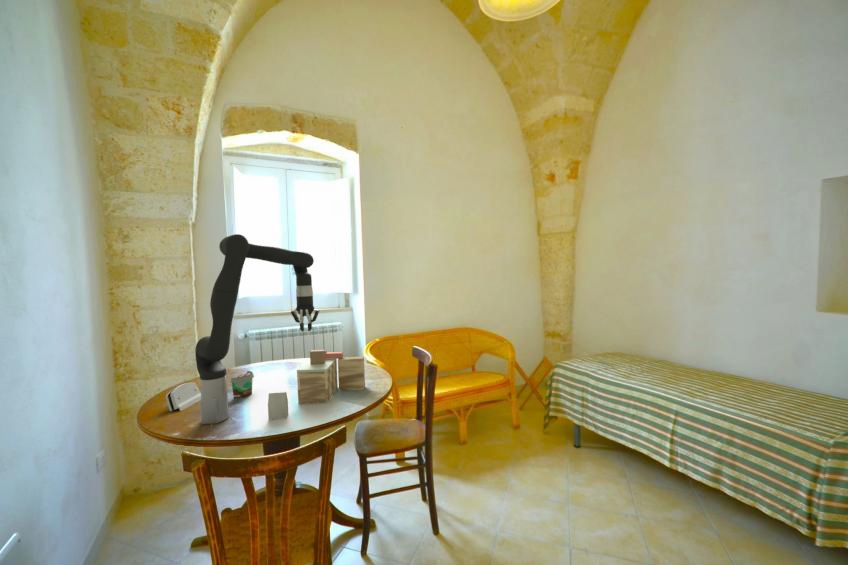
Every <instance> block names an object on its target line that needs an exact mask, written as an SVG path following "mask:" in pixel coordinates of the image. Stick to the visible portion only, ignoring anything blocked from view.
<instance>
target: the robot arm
mask: <svg viewBox="0 0 848 565" xmlns="http://www.w3.org/2000/svg"><path fill="white" fill-rule="evenodd" d="M218 248H219V250H220V252H221V254H223V256H224V262H223V266H222V268H221V269H220V270H221V271H220V272H219V274H218V276H217V278H216V280H215V282H214V284H213V287H212V291H211V297H210V302H209V304H210V305H209V306H210V314H211V316H212V317H211V318H212V328H211V331H210V335H207V336H204V337H201V338H200V339H199V340H198V341H197V343H196V345H195V350H194V352H195V353H194V354H195V361H196V363H195V364H196V368H197V369H196V370H197V373H198V374H199V381H200V382H199V383H200V386H199V387H200V392H201V400H200V401H199V402H200V415H201V416H200V417H201V419H200V420H201V424H202V425H209V424H211V425H212V424H219V423H220V422H223V421H225V420H227V419H228V418H229V417H230V416H229V415H230V414H229V401H228V394H229V393H228V380H227V378H228V376H227V369H226V366H224V365H223V363H222V360H223V359H225V357H226V356H227V355H228V352H229V350H230V342H231V331H232V330H231V329H232V323H233V318H234V313H235V309H236V305H237V300H238V295H239V289H240V283H241V279H242V272H243V268H244V265H245V261H246V259H253V260H260V261H265V262H270V263H275V264H279V265H280V264H281V265H285V266H288V265H289V266H293V271H294V275H295V278H296V279H295V282H296V283H295V284H296V288H295V294H296V296H295V297H296V307H295V309H294V310H291V311H290V314H291V316H292V318H293V319H294V321H295V323H298V324H299V329H300V331H301V332H304V331H305V322H304V319H305V317H306V319H307V331H308V332H310V331H311V330H313V326H312V325H313V324H312V323H315V321H316V320H317V319H318V316H319V313H320V309H316V308H315V306H314V290H313V285H312V281H313V280H312V274H310V273H309V272H308V268H311V266H312V265H313V264H314V257H313V255H312V254H310V253H308V252H304V251H296V250H295V251H294V250H291V249H286V248H281V247H276V246H268V245H261V244H260V245H259V244H252V243H249V240H248V239H247V237H246V236H244V235H243V234H239V233H238V234H237V233H236V234H235V233H234V234H231V235H228V236H226V237H224V238H222V239H221V240H220V242H219V247H218ZM312 313H313V317H312ZM297 314H299V316H298V315H297Z"/></svg>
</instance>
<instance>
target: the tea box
mask: <svg viewBox="0 0 848 565" xmlns="http://www.w3.org/2000/svg"><path fill="white" fill-rule="evenodd" d="M287 394H288V392H287V391H285V392H283V391H282V392H281V391H280V392H269V393H268V399H267V412H268V413H267V414H268V420H269V421H271V420H272V421H273V420H286V419H287V418H288V416H289V401H288V395H287Z"/></svg>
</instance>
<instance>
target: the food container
mask: <svg viewBox="0 0 848 565" xmlns="http://www.w3.org/2000/svg"><path fill="white" fill-rule="evenodd" d="M254 377H255V376H254V372H253V371H251V370H246V373H243V374H239V375H238V376H237V377H230V383H231V386H232V388H231V389H232V395H233V399H234V400H236V399H243V398H248V397H250V396H251V395H252V394H253V378H254Z"/></svg>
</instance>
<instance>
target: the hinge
mask: <svg viewBox="0 0 848 565" xmlns="http://www.w3.org/2000/svg"><path fill="white" fill-rule="evenodd" d="M165 399H166V400H165V401H166V403H167V407H168V410H169V412H173V411H174V410H177V409H178V410H179V411H180V412H181V411H184V410H185V409H188V408H189V407H191V406H193V405H195V404H197V402H200V401H201V389H199V387H198V385H197V383H196V382H194V381H193V382H191V381H190V382H186V383H182V384H180V385H176V386H175V387H174V388H172V389H171V390H170V391H169V392H168V393H166V395H165Z"/></svg>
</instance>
